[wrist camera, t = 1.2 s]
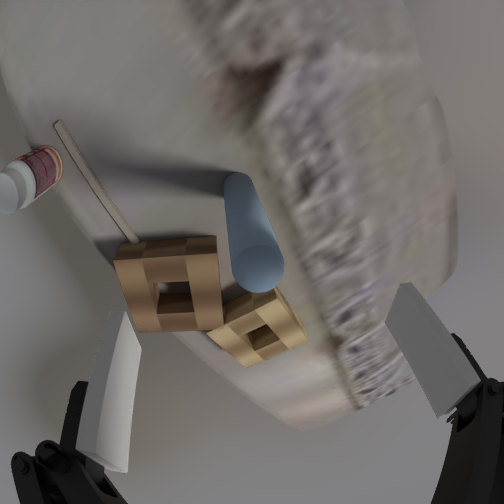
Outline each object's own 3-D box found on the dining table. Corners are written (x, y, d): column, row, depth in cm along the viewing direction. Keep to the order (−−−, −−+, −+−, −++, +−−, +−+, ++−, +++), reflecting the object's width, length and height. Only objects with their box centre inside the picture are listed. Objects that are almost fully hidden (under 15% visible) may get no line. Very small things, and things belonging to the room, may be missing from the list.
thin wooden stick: (56, 124, 21) (53, 125, 20) (61, 119, 20) (58, 120, 20) (134, 243, 29) (133, 245, 29) (139, 239, 29) (138, 242, 29)
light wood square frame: (205, 314, 36) (206, 333, 33) (271, 279, 34) (277, 298, 31) (244, 350, 41) (247, 368, 38) (302, 322, 40) (308, 340, 37)
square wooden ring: (121, 243, 29) (112, 260, 26) (216, 235, 30) (216, 253, 27) (142, 313, 35) (138, 332, 32) (222, 309, 36) (224, 328, 33)
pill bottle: (47, 136, 21) (0, 157, 14) (70, 167, 23) (29, 196, 16) (25, 165, 22) (-19, 193, 15) (48, 194, 24) (8, 229, 17)
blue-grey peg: (222, 173, 26) (232, 261, 14) (252, 171, 27) (292, 257, 14) (223, 201, 28) (234, 306, 15) (252, 199, 28) (287, 301, 15)
